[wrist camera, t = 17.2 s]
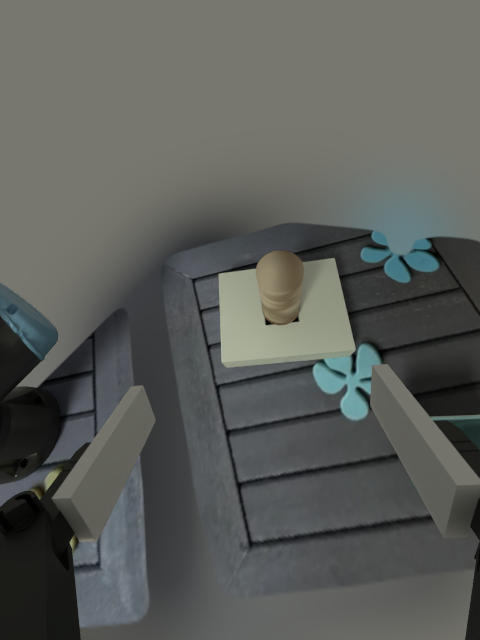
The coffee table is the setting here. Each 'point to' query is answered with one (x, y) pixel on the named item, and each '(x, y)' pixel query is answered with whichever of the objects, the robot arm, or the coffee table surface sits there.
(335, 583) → the coffee table surface
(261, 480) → the coffee table surface
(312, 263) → the sage board
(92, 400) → the coffee table surface
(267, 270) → the tan wooden cylinder
